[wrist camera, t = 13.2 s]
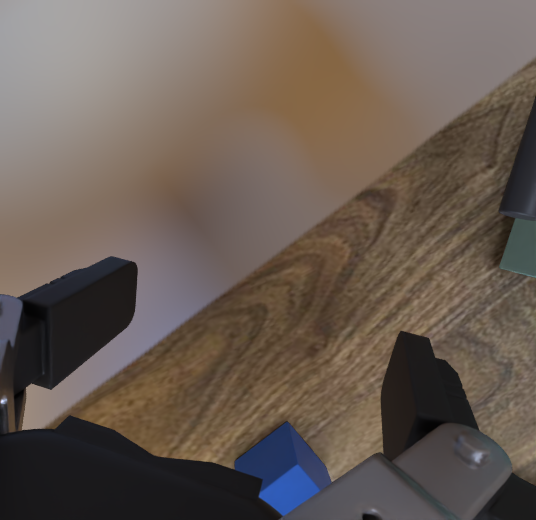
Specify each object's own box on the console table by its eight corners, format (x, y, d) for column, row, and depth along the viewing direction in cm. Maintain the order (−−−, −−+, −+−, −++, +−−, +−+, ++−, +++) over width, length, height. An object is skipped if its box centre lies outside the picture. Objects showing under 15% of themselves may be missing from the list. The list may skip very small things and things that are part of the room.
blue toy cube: (287, 420, 24) (298, 463, 20) (326, 466, 25) (344, 517, 21) (234, 460, 24) (234, 512, 20) (274, 506, 25) (282, 564, 21)
